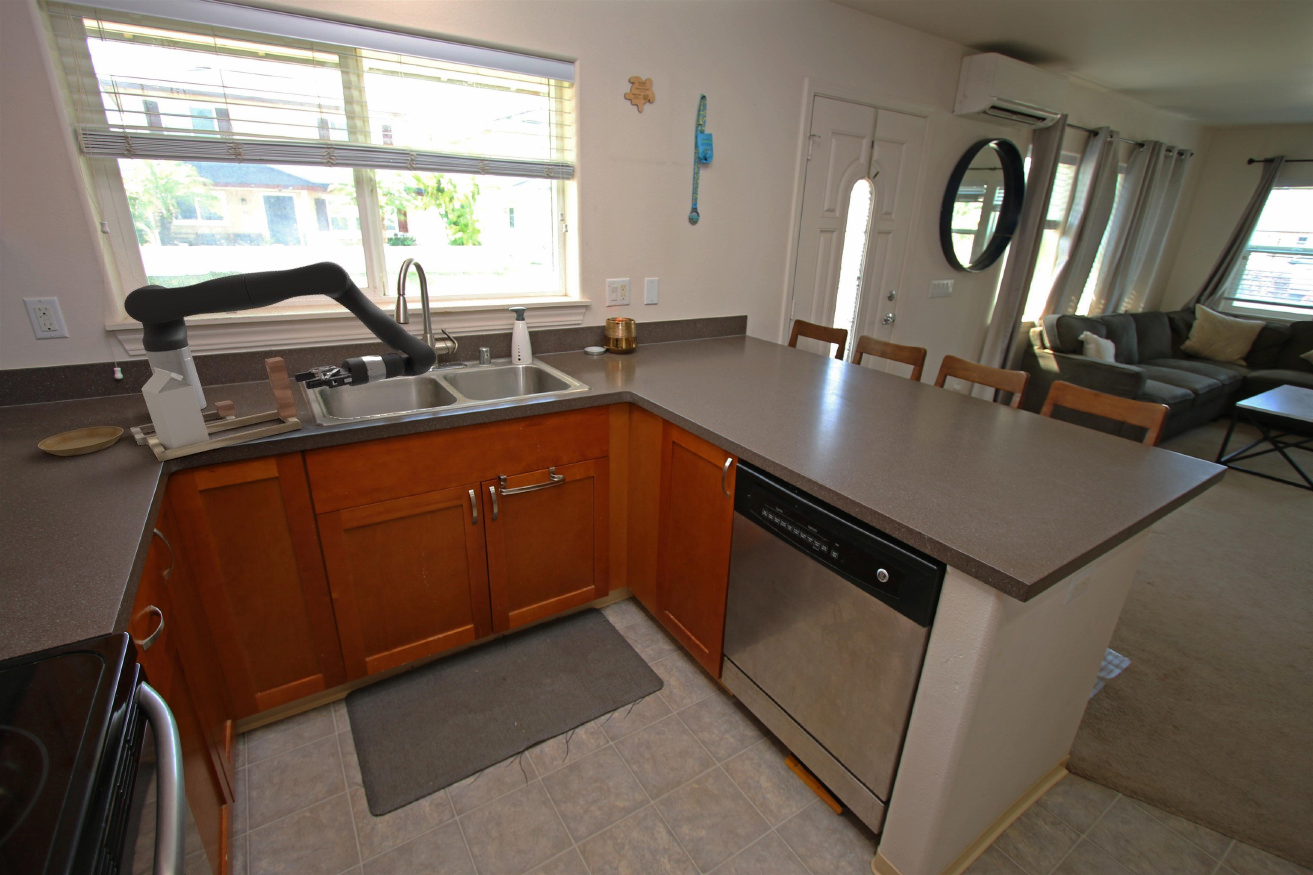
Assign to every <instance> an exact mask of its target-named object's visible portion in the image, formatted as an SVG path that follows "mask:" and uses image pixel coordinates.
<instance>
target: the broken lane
mask: <svg viewBox="0 0 1313 875" xmlns="http://www.w3.org/2000/svg"><path fill="white" fill-rule="evenodd" d="M214 407H215V409H216V410H213V411H212V410H211V411H208V412H203V413H202V412H201V413H202V416H203V420H204V423H205V425H209V424H214V423H219V422H223V421H228V420H233V419H237V417H236V416H234V415H237V410H236V408H235V405H234V402H232V401H231V400H230V399H229V400H223V401H218V402H215V403H214ZM221 417H222V418H221ZM216 418H217V419H219V420H217V419H216ZM209 419H212V420H211V421H210V420H209ZM205 420H208V421H205ZM129 430H130V432H131V433H130V434H131V435H132V437H133V436H134V437H133V439H134V440H135V442H136V441H137V442H136V443H137V445H138V446H139V445H141V446H144V445H143V444H145V445H147V444H146V443H148V441H147V438H148V437H153V436H157V434H156V431H155V428H154V425H153V422H151V423H148V424H142V425H137V426H133V427H130V428H129ZM151 431H155V432H154V433H152V432H151ZM147 432H150V433H149V434H148V433H147ZM143 433H145V434H143Z"/></svg>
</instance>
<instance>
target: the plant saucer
mask: <svg viewBox="0 0 1313 875" xmlns="http://www.w3.org/2000/svg"><path fill="white" fill-rule="evenodd" d="M123 433H124V429H123V428H122V427H119V426H113V425H111V426H109V425H107V426H106V425H105V426H104V425H103V426H92V427H86V428H85V427H84V428H79V429H75V430H73V429H72V430H70V431H69V430H68V431H65V432H62V433H59V434H55V435H53V436H49V437H47V438H45V439H43V440H41V441H39V443H38V444H37V447H38V448H39V449H41V450H42V451H44V452H46V453H48V454H52V455H54V456H58V457H69V456H70V457H71V456H79V455H80V456H81V455H83V454H84V455H85V454H91V453H94V452H98V451H102V450H104V449H106V448H109V447H111V446H113V445H115V442H118V441H119V440H120V438H121V437H122V435H123Z"/></svg>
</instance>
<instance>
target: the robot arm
mask: <svg viewBox="0 0 1313 875" xmlns="http://www.w3.org/2000/svg"><path fill="white" fill-rule="evenodd" d="M318 295H319V296H320V295H322V296H323V295H324V296H326V297H328V298H331V299H332V300H333V301H335V302H336V303H337V304H339V305H341V306H343V307H344V308H345V309H346V310H348V311H349V312H351V313H352V314H353V315H354V316H355V318H357V319H358V320H359V321H361V323H363V325H364V326H365V327H366V328H367V329H368V330H369V331H370V332H371V333H372V334H373V335H374V336H375V337H376V338H377V339H379V340H380V341H381V342H382V343H383V344H384V345H385V346H387V347H388V348H389V349H390V350H392V351H393V352H390V353H389V352H388V353H383V354H376V355H364V356H358V357H351V358H346V359H343V360H342V362H341V367H337V366H334V365H332V364H330V365H323V366H318V367H311V368H308V369H309V370H308V371H305V372H298V373H294V374H293V377H294V380H295V382H296V383H301V382H304V384H305V389H307V390H312V389H313V390H314V389H319V388H328V389H335V388H339V387H344V386H350V387H356V386H357V387H358V386H361V385H367V384H372V383H377V382H380V381H383V380H388V379H394V378H397V377H418V376H421V375H424V374H426V373H428V372H429V371H430V370H431V369H432V367H433V366H434V365H435V364H436V361H437V354H436V352H435V350H434V349H433V347H431V346H430V345H429V344H428V343H427V342H425V341H424V340H422V339H420V338H418V337H417V336H415V335H413V334H411V333H409V332H408V331H407V330H406V329H405V328H404V326H402V325H401V324H400V323H398V322H397V321H396V320H395V319H394V318H393V317H392V316H391V315H389V314H388V313H387V312H386V311H385V310H383V309H381V307H379V306H377V304H375V302H373V301H372V300H371V299H369V298H368V297H367V295H365V294H364V292H362V290H361V289H360V288H359V287H358V286H357V285H356V283H355V282H354V281H353V280H352V278H351V277H350V274H349V273H348V272H347V270H346V269H345V268H343V266H341V265H340V264H339V263H336V262H334V261H328V260H327V261H320V262H315V263H312V264H308V265H302V266H298V267H295V268H290V269H282V270H268V271H267V270H265V271H255V272H247V273H246V272H245V273H239V274H231V275H226V276H225V275H224V276H221V277H216V278H212V279H208V280H204V281H201V282H196V283H195V284H190V285H186V286H184V285H183V286H178V287H166V286H163V285H159V284H148V285H145V286H142V287H138V288H136V289H134V290H133V291H131V292H130V293H128V294H127V296H126V298H125V299H124V303H123V306H124V310H125V312H126V313H127V315H128V316H129V317H130V318H131V319H132V320H134V321H136V322H139V323H141V324H142V328H143V337H142V340H141V342H142V345H143V349H144V350H145V351H144V352H145V355H146V358H147V361H148V363H149V365H150V366H149V367H150V369H151V373H152V376H153V375H154V373H155V370H154V368H158V369H161V370H165V371H168V372H170V373H176V374H178V375H181V376H183V378H182V380H181V381H183V382H185V383H188V384H190V385H193V387H194V390H195V393H196V397H197V400H198V403H199V406H200V410H203V409H205V408H206V407H207V401H206V399H205V394H204V391H203V388H202V385H201V382H200V378H199V375H198V372H197V368H196V365H195V361H194V358H193V355H192V353H191V352H192V351H191V348H190V345H189V342H188V329H187V325H186V322H185V321H186V320H185V318H187V317H191V316H192V317H193V316H197V315H206V314H207V315H208V314H221V313H232V312H239V311H249V310H254V309H262V308H266V307H269V306H272V305H275V304H279V303H281V302H284V301H286V300H289V299H293V298H297V297H299V298H300V297H306V296H307V297H308V296H318ZM399 351H400V352H402V353H404V354H403V355H400V354H399V353H396V352H399ZM317 373H318V374H317Z"/></svg>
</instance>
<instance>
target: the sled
mask: <svg viewBox="0 0 1313 875" xmlns="http://www.w3.org/2000/svg"><path fill="white" fill-rule="evenodd" d="M264 363H265V367H266V371H267V375H268V379H269V384H270V386H271V390H272V396H273V399H274V403H275V407H276V410H271V411H267V412H262V413H258V414H253V415H248V416H243V417H238V418H236V419H233V420H228V421H223V422H219V423H214V424H209V425H205V426H206V429H207V433H208V434H211V433H216V432H220V431H225V430H229V429H233V428H239V427H243V426H249V425H253V424H256V423H258V424H259V423H261V422H267V421H271V420H275V419H276V420H277V419H281V421H283V422H284V423H281V424H275V425H270V426H268V427H267V426H266V427H263V428H258V429H254V430H249V431H245V432H241V433H236V434H231V435H227V436H223V437H218V438H214V439H210V440H209V441H205V442H200V443H196V444H191V445H187V446H183V447H178V448H174V449H169V450H165V449H164V448H163V447H162V445H161V444H160V442H159V439H158V436H153V437H148V438H147V441H148V444H147V445H148V446H149V447H150V449H151V451H152V452H153V453H154V455H155V456H156V458H157V460H158V461H159V462H164V461H167V460H171V459H175V458H180V457H184V456H189V455H193V454H197V453H200V452H205V451H209V450H210V451H211V450H214V448H215V449H219V448H221V447H223V448H224V447H228V446H231V445H235V444H239V443H243V442H248V441H252V440H255V439H261V438H265V437H269V436H274V435H277V434H282V433H286V432H290V431H295V430H299V429H302V427H303V426H302V423H301V421H300V420H299V419H297V418H296V417H297V416H298V414H297V409H296V404H295V399H294V396H293V391H292V387H291V383H290V379H289V374H288V371H287V366H286V362H285V359H284V358H282V357H280V356H278V357H277V356H276V357H272V358H265V359H264Z"/></svg>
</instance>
